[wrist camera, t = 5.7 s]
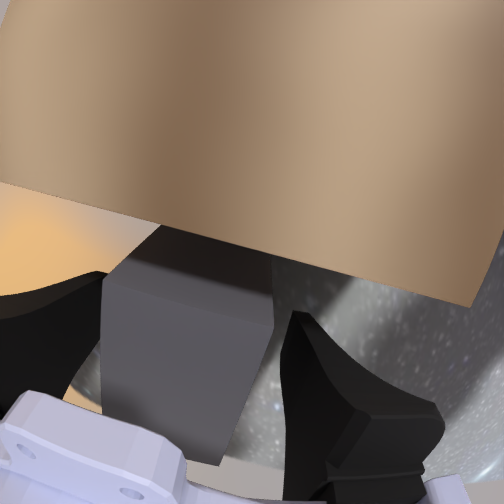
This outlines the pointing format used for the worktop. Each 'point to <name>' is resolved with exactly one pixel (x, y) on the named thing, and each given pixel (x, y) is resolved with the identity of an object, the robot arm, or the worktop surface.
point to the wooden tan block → (272, 125)
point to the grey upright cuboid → (185, 337)
